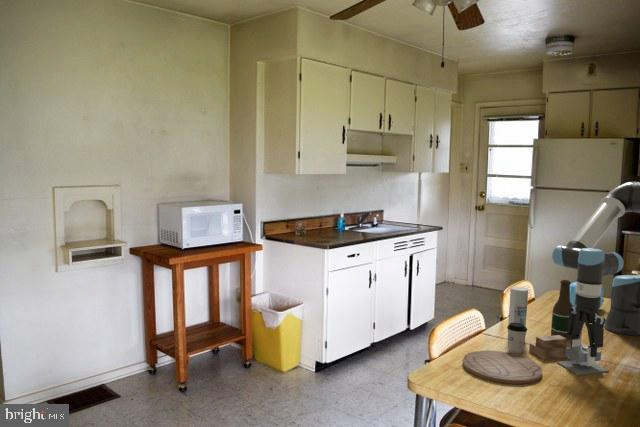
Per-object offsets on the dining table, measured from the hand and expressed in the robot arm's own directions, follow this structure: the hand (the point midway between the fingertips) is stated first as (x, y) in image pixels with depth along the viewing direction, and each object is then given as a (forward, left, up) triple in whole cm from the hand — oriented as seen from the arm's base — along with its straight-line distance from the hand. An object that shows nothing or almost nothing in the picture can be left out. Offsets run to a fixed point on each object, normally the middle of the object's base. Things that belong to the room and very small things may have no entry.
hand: (582, 361), depth 174 cm
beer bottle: (-12, -24, -2) cm, 27 cm away
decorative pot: (-56, -61, -2) cm, 83 cm away
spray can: (+4, -30, -2) cm, 30 cm away
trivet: (+28, -5, -3) cm, 29 cm away
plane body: (-2, -13, -2) cm, 13 cm away
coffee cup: (+13, -18, -2) cm, 22 cm away
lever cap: (0, 0, +1) cm, 1 cm away
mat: (0, 0, -2) cm, 2 cm away
